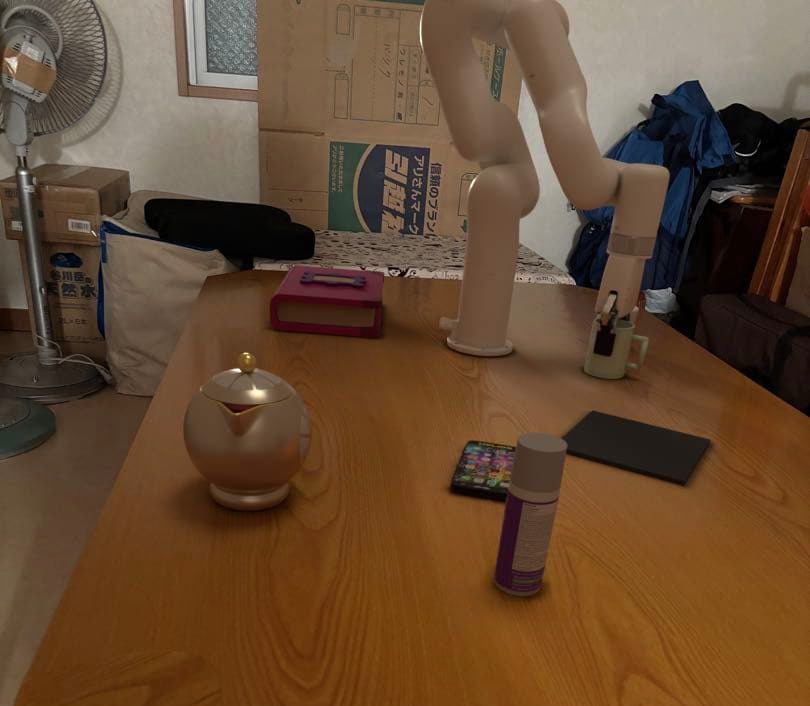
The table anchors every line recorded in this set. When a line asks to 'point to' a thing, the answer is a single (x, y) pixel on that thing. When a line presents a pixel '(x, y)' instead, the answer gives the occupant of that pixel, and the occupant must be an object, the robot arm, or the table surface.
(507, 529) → the container
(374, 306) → the book
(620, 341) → the mug
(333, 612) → the table surface
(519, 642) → the table surface
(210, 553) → the table surface
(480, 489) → the smartphone
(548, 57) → the robot arm
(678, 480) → the mat
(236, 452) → the teapot
